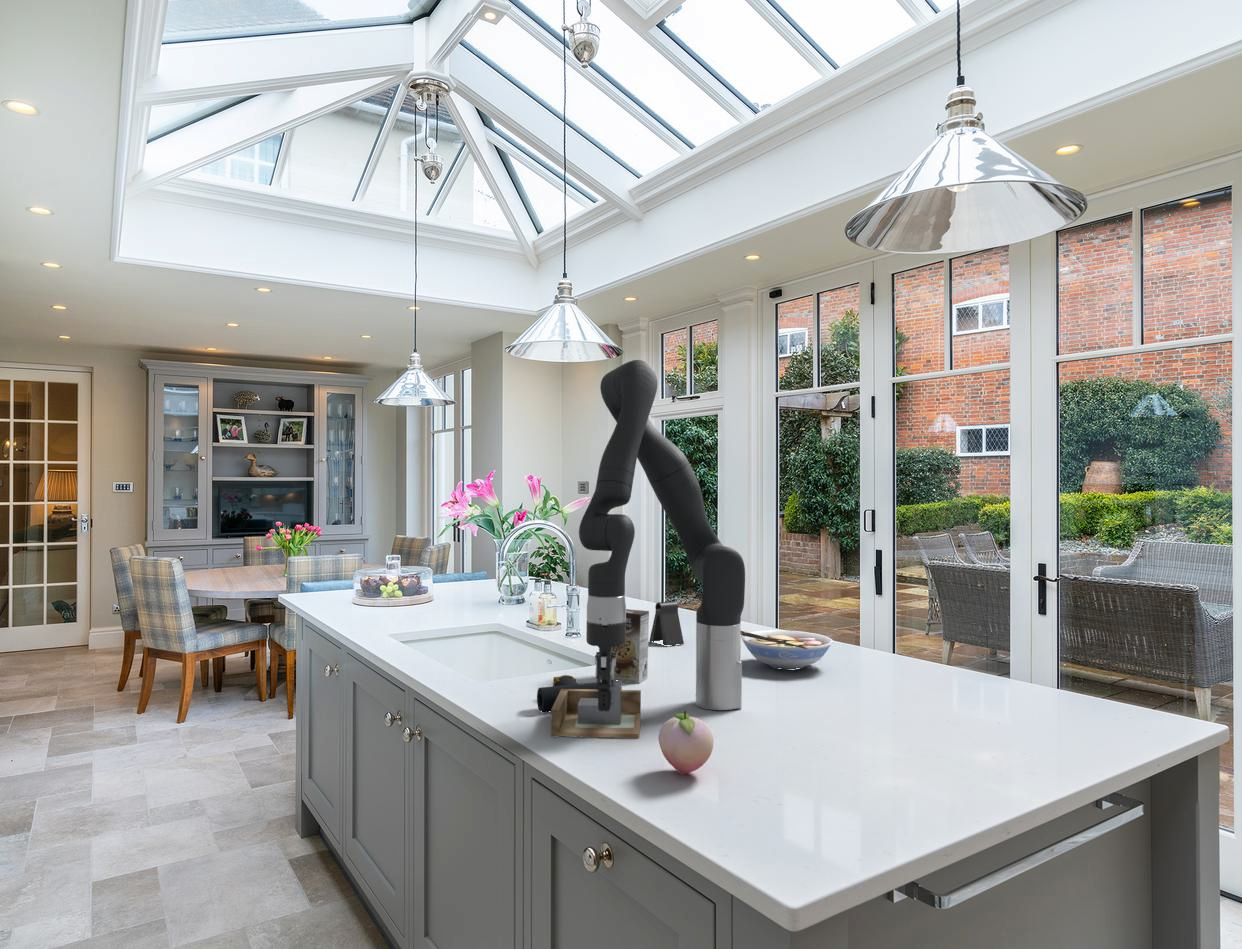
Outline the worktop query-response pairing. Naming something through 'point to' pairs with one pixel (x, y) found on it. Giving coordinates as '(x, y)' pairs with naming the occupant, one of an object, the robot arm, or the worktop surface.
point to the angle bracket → (592, 715)
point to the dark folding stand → (667, 624)
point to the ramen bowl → (786, 647)
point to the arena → (567, 724)
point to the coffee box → (633, 648)
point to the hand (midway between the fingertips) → (605, 704)
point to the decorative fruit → (685, 742)
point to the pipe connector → (550, 694)
